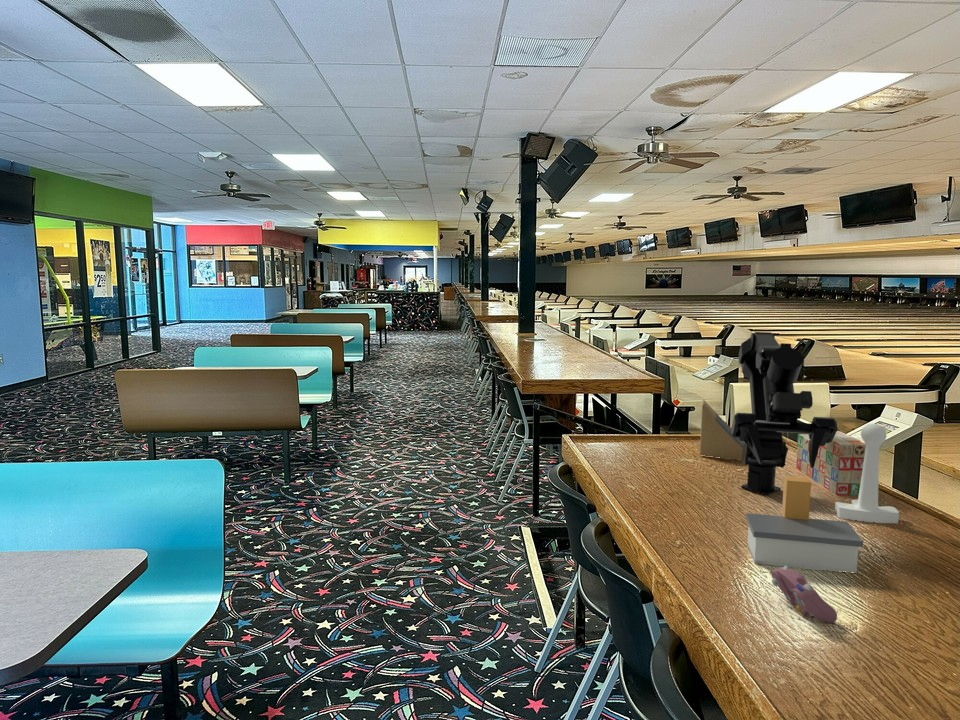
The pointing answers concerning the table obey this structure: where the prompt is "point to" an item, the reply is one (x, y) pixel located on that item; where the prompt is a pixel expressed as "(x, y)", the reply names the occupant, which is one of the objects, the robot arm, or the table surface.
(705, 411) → the sandwich container
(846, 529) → the lid
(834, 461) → the stack of blocks
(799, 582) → the video game controller
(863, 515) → the joystick
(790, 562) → the tub
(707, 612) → the table surface
